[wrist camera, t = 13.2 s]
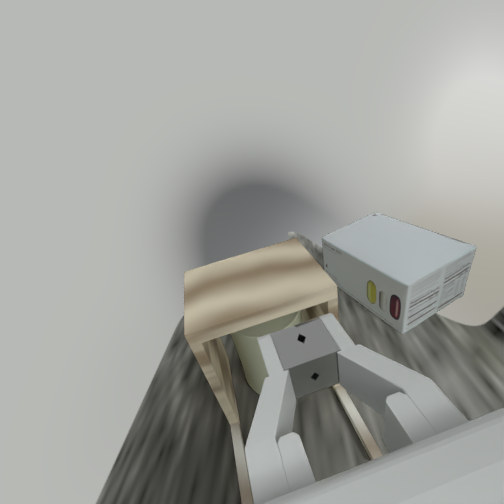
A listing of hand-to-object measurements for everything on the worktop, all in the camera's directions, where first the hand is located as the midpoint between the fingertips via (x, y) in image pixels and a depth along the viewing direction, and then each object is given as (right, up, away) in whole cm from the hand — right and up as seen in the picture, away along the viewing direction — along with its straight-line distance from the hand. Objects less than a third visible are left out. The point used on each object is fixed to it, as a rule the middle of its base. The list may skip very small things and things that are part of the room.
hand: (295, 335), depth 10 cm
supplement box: (+21, -3, +35) cm, 41 cm away
